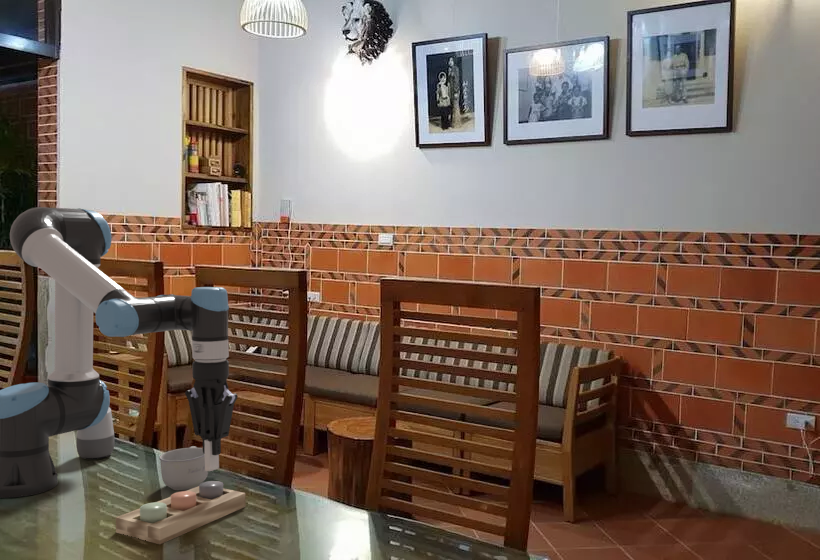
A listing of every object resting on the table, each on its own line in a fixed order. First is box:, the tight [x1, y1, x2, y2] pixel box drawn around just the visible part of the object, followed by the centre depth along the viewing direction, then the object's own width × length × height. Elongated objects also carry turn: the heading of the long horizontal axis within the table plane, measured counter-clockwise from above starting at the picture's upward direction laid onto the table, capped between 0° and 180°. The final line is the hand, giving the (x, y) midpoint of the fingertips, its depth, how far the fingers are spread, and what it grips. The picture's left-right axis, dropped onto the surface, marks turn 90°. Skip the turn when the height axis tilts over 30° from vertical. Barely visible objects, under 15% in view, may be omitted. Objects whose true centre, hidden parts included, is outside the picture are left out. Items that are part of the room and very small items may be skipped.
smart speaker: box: [75, 406, 116, 461], centre depth 203 cm, size 10×9×14 cm
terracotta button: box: [170, 490, 196, 511], centre depth 158 cm, size 5×5×3 cm
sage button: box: [139, 501, 167, 524], centre depth 151 cm, size 5×5×3 cm
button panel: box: [115, 486, 246, 545], centre depth 158 cm, size 12×24×3 cm, turn 151°
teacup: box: [159, 445, 209, 491], centre depth 180 cm, size 14×11×8 cm
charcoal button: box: [199, 480, 224, 500], centre depth 165 cm, size 5×5×3 cm
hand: (211, 469), depth 164 cm, fingers closed
